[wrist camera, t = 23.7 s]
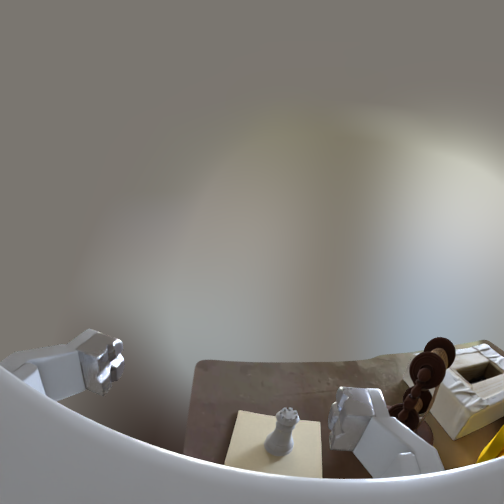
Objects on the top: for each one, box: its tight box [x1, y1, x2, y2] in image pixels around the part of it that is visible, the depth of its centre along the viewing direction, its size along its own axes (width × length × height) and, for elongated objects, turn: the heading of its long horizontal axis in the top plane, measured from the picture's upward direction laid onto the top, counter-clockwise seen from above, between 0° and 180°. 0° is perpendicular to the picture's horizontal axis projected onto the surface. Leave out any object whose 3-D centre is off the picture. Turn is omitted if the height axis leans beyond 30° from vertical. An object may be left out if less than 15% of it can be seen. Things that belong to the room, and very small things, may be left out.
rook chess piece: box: [264, 407, 299, 456], centre depth 36 cm, size 4×4×8 cm
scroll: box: [386, 337, 456, 446], centre depth 36 cm, size 15×15×20 cm
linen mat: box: [224, 410, 322, 478], centre depth 38 cm, size 14×14×1 cm
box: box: [403, 344, 504, 440], centre depth 48 cm, size 23×8×32 cm
